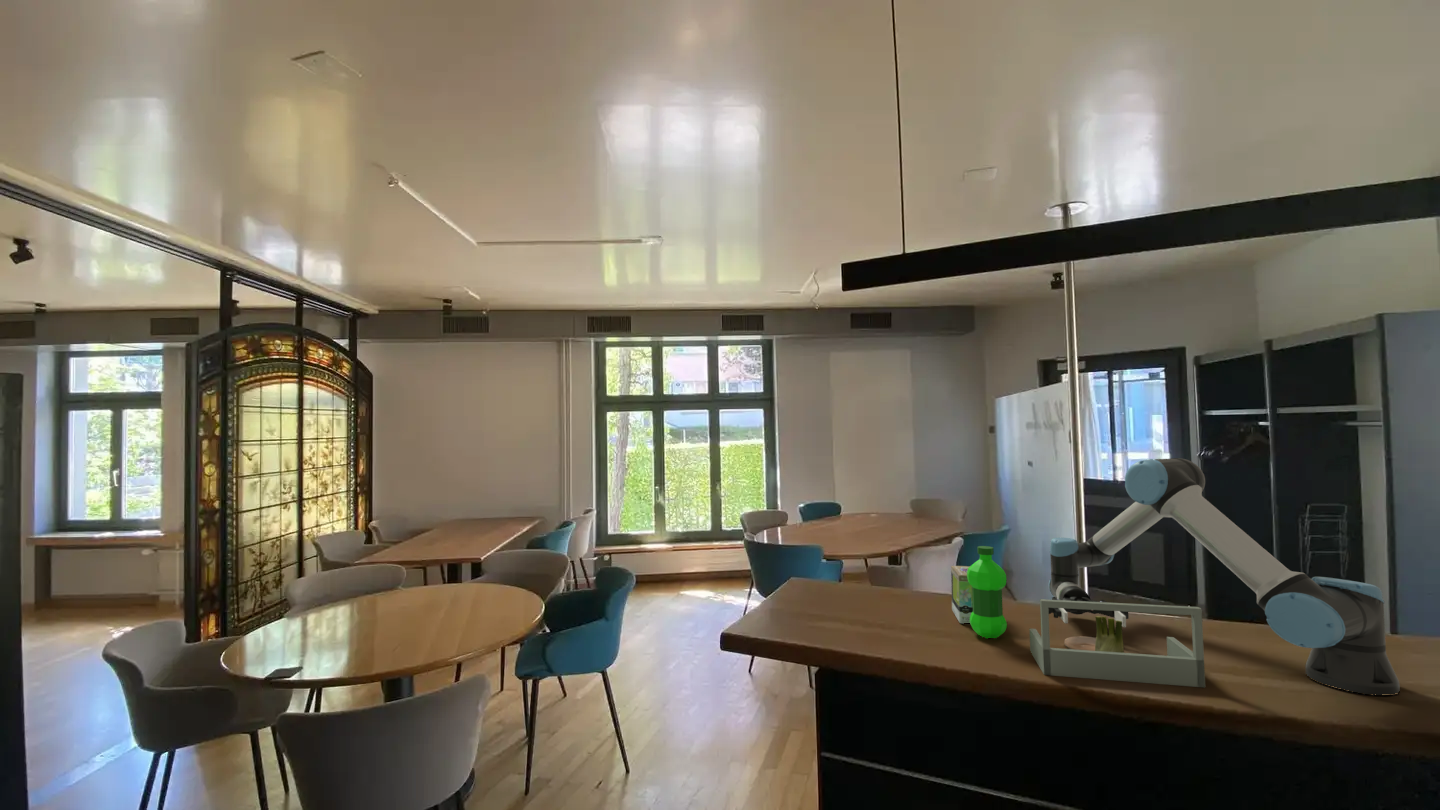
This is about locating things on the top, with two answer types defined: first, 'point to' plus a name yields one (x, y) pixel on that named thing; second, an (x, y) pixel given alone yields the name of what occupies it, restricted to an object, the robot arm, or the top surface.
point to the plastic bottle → (987, 595)
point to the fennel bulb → (1109, 635)
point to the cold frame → (1122, 666)
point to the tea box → (961, 594)
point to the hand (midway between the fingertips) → (1095, 619)
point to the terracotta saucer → (1081, 643)
